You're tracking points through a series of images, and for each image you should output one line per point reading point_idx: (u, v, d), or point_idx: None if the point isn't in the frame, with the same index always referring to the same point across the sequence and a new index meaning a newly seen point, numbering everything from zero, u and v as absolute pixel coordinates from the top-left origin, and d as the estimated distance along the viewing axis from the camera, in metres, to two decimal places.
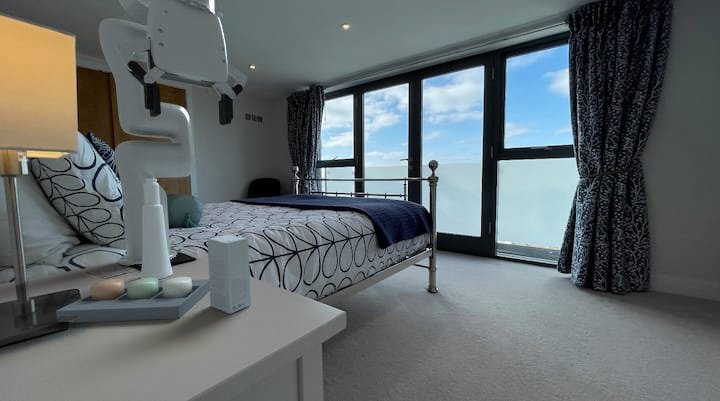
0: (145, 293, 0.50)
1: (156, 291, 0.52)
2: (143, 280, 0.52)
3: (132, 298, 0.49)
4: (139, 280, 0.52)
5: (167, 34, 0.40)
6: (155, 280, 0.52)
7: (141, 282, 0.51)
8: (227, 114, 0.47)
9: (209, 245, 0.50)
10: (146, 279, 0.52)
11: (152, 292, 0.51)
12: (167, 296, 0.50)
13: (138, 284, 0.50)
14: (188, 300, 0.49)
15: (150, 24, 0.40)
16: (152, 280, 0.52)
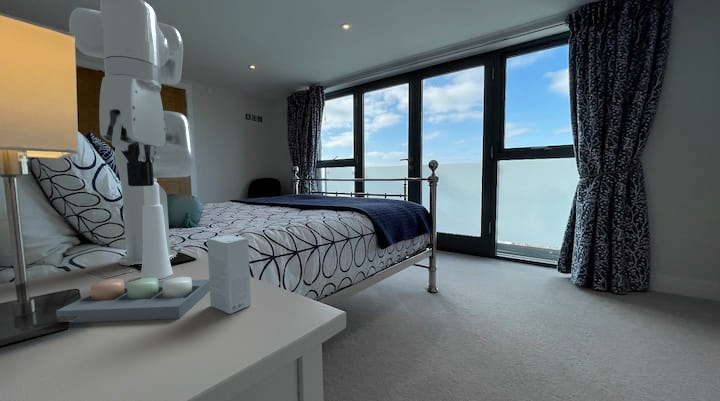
0: (145, 293, 0.50)
1: (156, 291, 0.52)
2: (143, 280, 0.52)
3: (132, 298, 0.49)
4: (139, 280, 0.52)
5: (136, 110, 0.47)
6: (155, 280, 0.52)
7: (141, 282, 0.51)
8: (151, 178, 0.51)
9: (209, 245, 0.50)
10: (146, 279, 0.52)
11: (152, 292, 0.51)
12: (167, 296, 0.50)
13: (138, 284, 0.50)
14: (188, 300, 0.49)
15: (119, 99, 0.45)
16: (152, 280, 0.52)
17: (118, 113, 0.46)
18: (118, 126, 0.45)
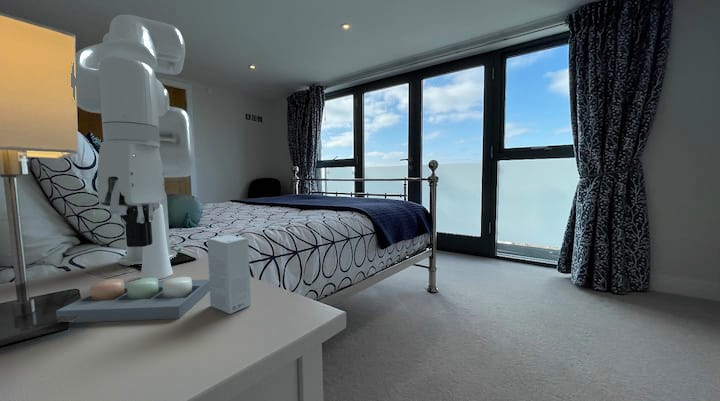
0: (145, 293, 0.50)
1: (156, 291, 0.52)
2: (143, 280, 0.52)
3: (132, 298, 0.49)
4: (139, 280, 0.52)
5: (135, 174, 0.46)
6: (155, 280, 0.52)
7: (141, 282, 0.51)
8: (149, 237, 0.51)
9: (209, 245, 0.50)
10: (146, 279, 0.52)
11: (152, 292, 0.51)
12: (167, 296, 0.50)
13: (138, 284, 0.50)
14: (188, 300, 0.49)
15: (117, 166, 0.45)
16: (152, 280, 0.52)
17: (116, 179, 0.45)
18: (116, 193, 0.45)
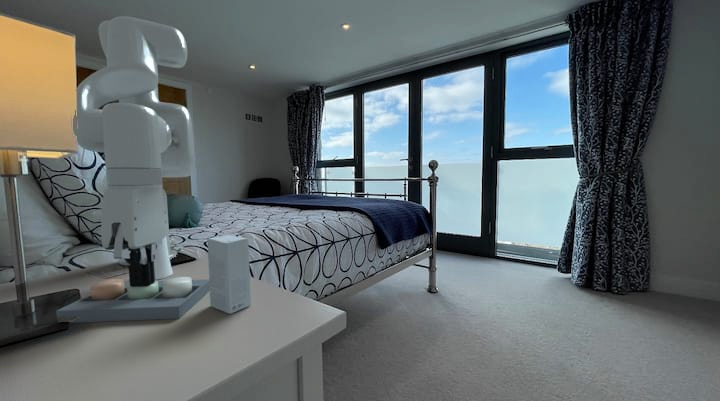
0: (145, 295, 0.50)
1: (156, 294, 0.52)
2: None
3: None
4: None
5: (138, 219, 0.47)
6: (155, 282, 0.52)
7: None
8: (152, 276, 0.51)
9: (209, 245, 0.50)
10: None
11: (152, 294, 0.51)
12: (167, 296, 0.50)
13: None
14: (188, 300, 0.49)
15: (120, 212, 0.45)
16: None
17: (120, 224, 0.46)
18: (120, 238, 0.46)
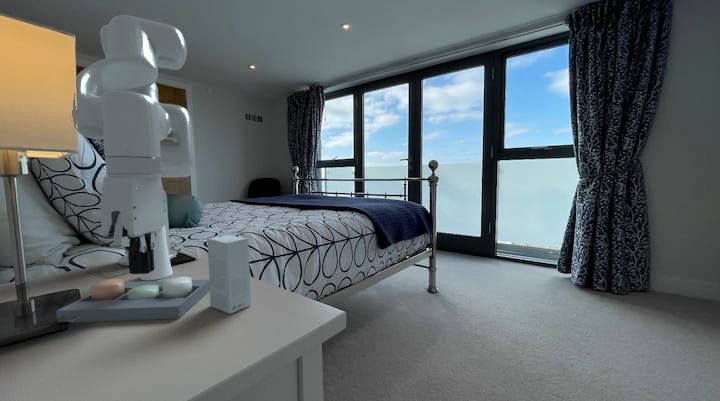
0: None
1: None
2: (143, 287, 0.52)
3: None
4: (139, 287, 0.52)
5: (137, 207, 0.48)
6: (155, 287, 0.52)
7: (142, 289, 0.51)
8: (151, 264, 0.52)
9: (209, 245, 0.50)
10: (146, 287, 0.53)
11: None
12: (167, 296, 0.50)
13: (138, 292, 0.50)
14: (188, 300, 0.49)
15: (120, 201, 0.46)
16: (152, 287, 0.52)
17: (119, 212, 0.47)
18: (119, 226, 0.46)
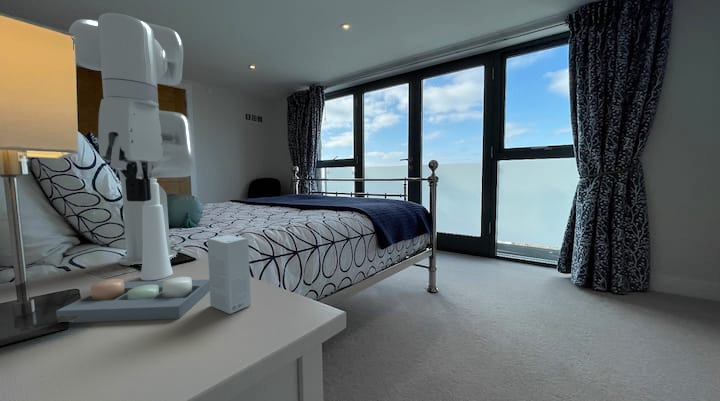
0: None
1: None
2: (143, 287, 0.52)
3: None
4: (139, 287, 0.52)
5: (134, 131, 0.49)
6: (155, 287, 0.52)
7: (142, 289, 0.51)
8: (148, 193, 0.53)
9: (209, 245, 0.50)
10: (146, 287, 0.53)
11: None
12: (167, 296, 0.50)
13: (138, 292, 0.50)
14: (188, 300, 0.49)
15: (117, 122, 0.47)
16: (152, 287, 0.52)
17: (116, 135, 0.48)
18: (116, 148, 0.47)
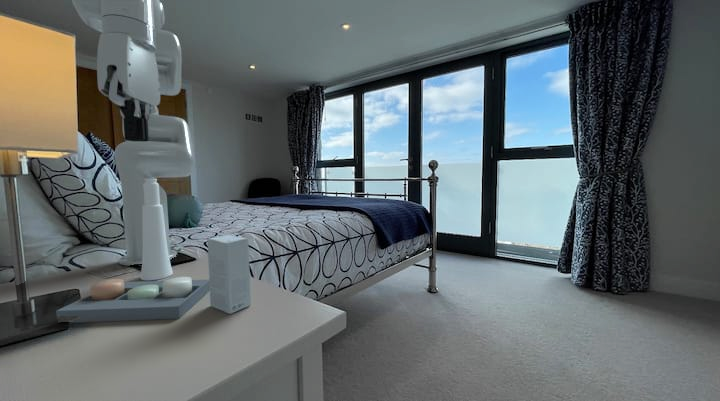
0: None
1: None
2: (143, 287, 0.52)
3: None
4: (139, 287, 0.52)
5: (132, 67, 0.50)
6: (155, 287, 0.52)
7: (142, 289, 0.51)
8: (146, 133, 0.54)
9: (209, 245, 0.50)
10: (146, 287, 0.53)
11: None
12: (167, 296, 0.50)
13: (138, 292, 0.50)
14: (188, 300, 0.49)
15: (115, 55, 0.48)
16: (152, 287, 0.52)
17: (115, 69, 0.49)
18: (115, 81, 0.49)
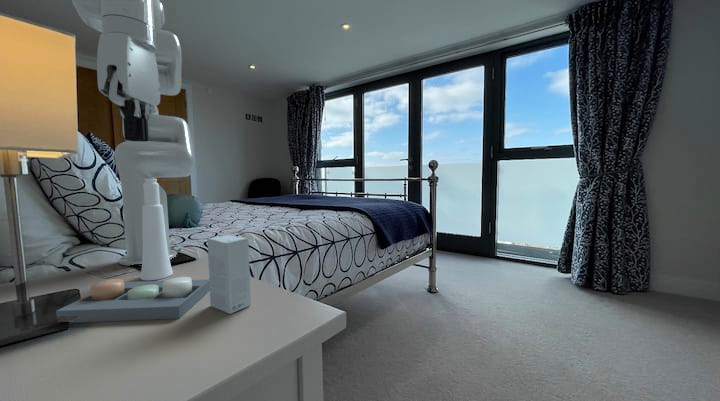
0: None
1: None
2: (143, 287, 0.52)
3: None
4: (139, 287, 0.52)
5: (132, 67, 0.50)
6: (155, 287, 0.52)
7: (142, 289, 0.51)
8: (146, 133, 0.54)
9: (209, 245, 0.50)
10: (146, 287, 0.53)
11: None
12: (167, 296, 0.50)
13: (138, 292, 0.50)
14: (188, 300, 0.49)
15: (115, 55, 0.48)
16: (152, 287, 0.52)
17: (115, 69, 0.49)
18: (115, 81, 0.49)
